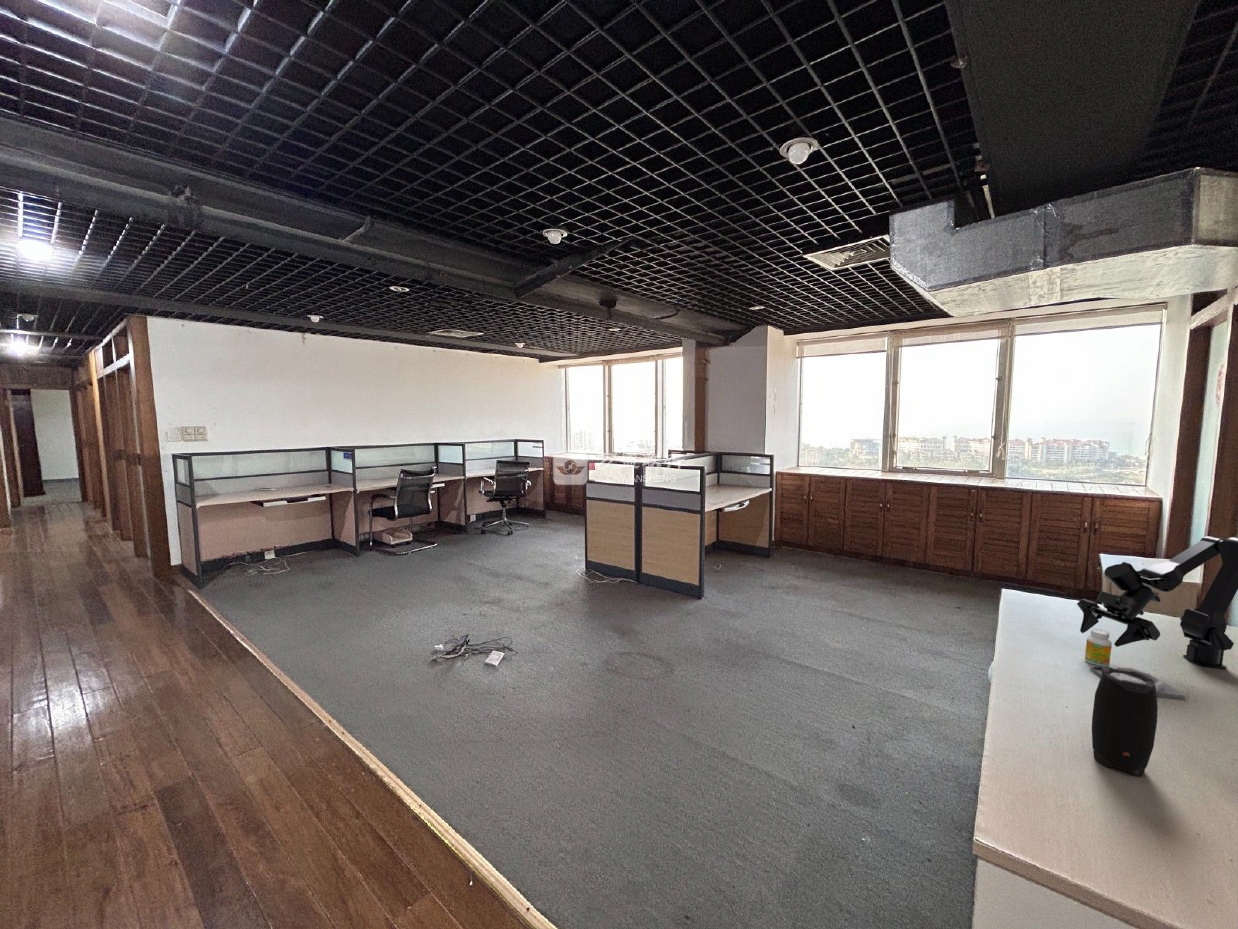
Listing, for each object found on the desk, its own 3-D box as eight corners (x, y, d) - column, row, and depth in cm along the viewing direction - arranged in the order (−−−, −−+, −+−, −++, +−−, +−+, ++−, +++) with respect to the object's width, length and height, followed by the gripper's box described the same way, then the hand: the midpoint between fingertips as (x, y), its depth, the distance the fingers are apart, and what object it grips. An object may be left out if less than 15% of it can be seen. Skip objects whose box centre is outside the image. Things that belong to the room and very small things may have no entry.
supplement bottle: (1088, 664, 149) (1091, 632, 148) (1081, 656, 154) (1085, 626, 153) (1112, 668, 146) (1116, 636, 146) (1105, 661, 151) (1108, 630, 150)
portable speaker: (1143, 785, 99) (1155, 691, 97) (1081, 758, 107) (1091, 670, 105) (1155, 769, 104) (1166, 679, 102) (1095, 744, 112) (1104, 660, 110)
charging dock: (1149, 676, 142) (1150, 668, 142) (1184, 699, 130) (1186, 690, 130) (1090, 669, 146) (1091, 661, 145) (1119, 691, 134) (1120, 682, 134)
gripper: (1085, 573, 158) (1052, 609, 157) (1157, 594, 139) (1120, 634, 139) (1102, 597, 160) (1070, 632, 159) (1176, 620, 142) (1140, 660, 141)
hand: (1097, 638), depth 149 cm, fingers open, 9 cm apart
